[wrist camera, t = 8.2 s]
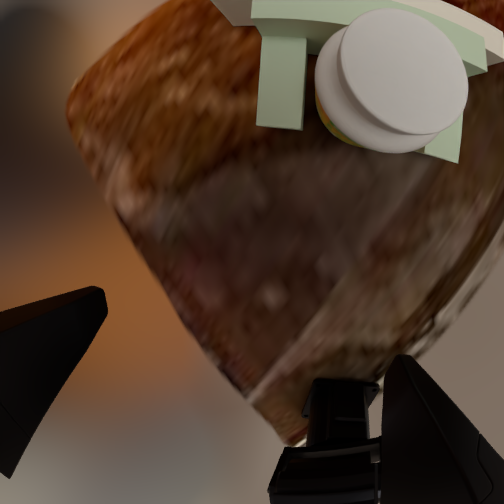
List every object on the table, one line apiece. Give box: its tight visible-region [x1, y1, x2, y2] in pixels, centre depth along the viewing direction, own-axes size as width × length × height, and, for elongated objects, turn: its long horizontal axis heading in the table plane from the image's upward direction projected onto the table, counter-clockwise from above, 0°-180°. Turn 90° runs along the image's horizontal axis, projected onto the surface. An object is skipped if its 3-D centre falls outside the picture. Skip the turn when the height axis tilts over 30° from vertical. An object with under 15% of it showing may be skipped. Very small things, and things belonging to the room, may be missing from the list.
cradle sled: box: [251, 0, 487, 163], centre depth 11 cm, size 7×11×6 cm, turn 86°
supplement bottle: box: [315, 8, 468, 153], centre depth 9 cm, size 5×5×10 cm
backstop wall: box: [211, 0, 504, 66], centre depth 9 cm, size 2×16×4 cm, turn 86°
